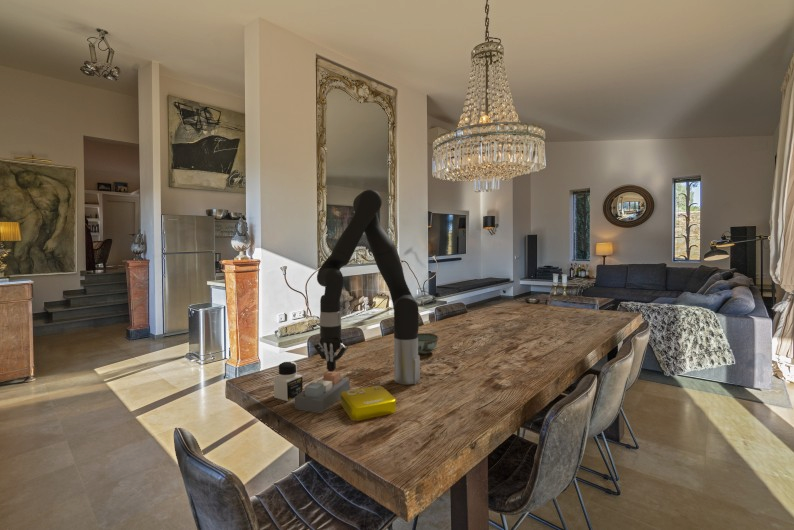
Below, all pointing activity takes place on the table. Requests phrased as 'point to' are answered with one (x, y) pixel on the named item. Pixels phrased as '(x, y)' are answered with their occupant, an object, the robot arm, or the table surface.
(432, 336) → the bowl
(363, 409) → the element tile
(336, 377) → the terracotta key
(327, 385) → the ivory key
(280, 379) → the medicine bottle
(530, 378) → the table surface
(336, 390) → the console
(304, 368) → the table surface
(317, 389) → the slate key
